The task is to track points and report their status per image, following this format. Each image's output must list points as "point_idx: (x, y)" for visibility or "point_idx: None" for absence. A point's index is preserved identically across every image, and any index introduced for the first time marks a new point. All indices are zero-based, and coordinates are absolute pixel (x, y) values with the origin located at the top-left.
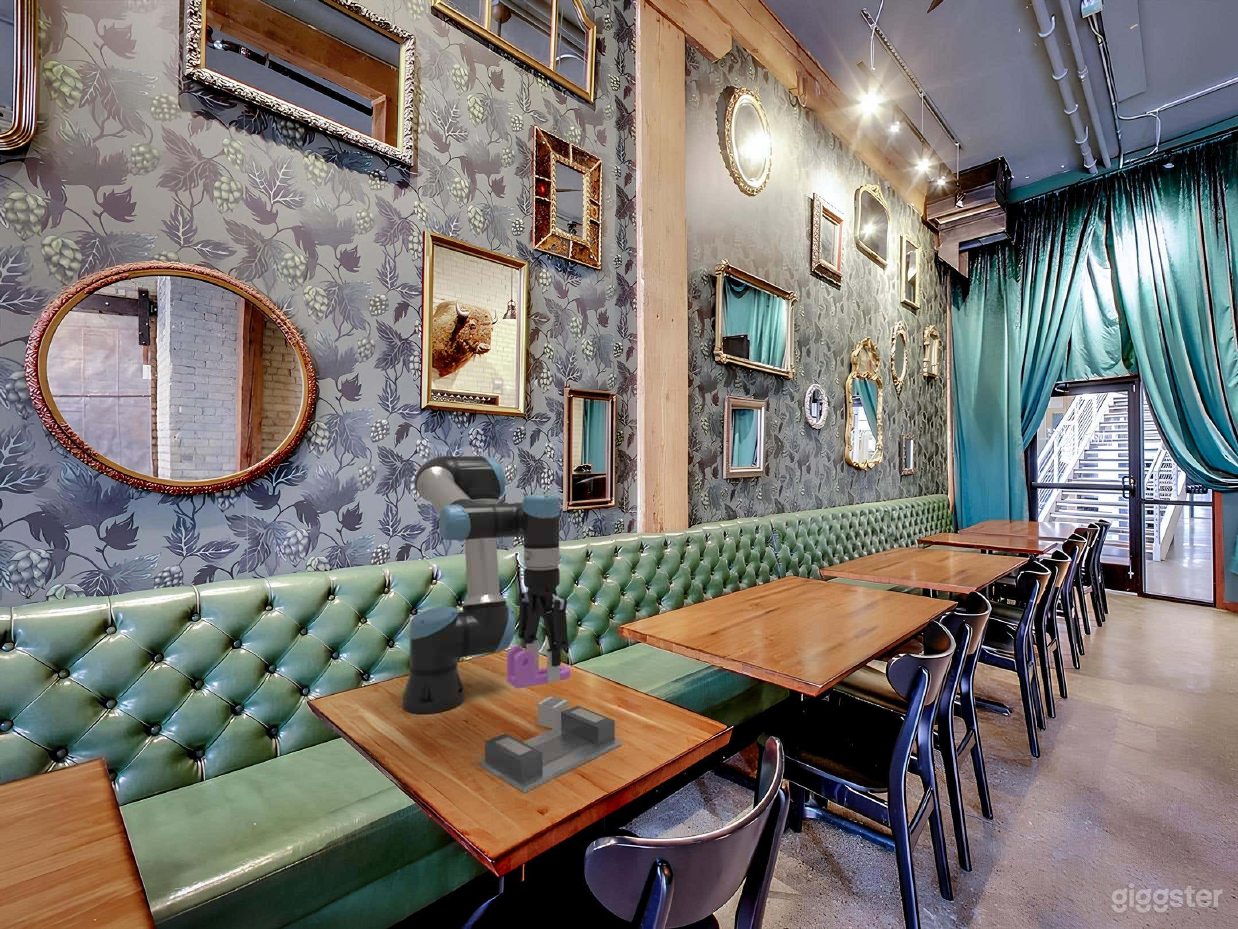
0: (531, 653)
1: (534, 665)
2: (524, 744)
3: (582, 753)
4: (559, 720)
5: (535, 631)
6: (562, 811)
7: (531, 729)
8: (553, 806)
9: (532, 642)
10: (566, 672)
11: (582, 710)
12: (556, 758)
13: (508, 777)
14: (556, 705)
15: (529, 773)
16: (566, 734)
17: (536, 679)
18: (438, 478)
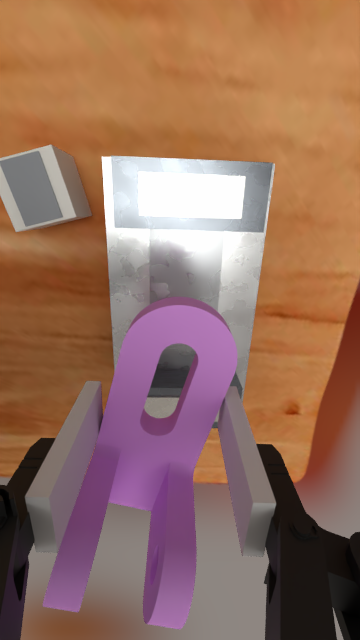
0: (76, 483)
1: (92, 421)
2: None
3: (242, 274)
4: (81, 195)
5: (6, 612)
6: (316, 395)
7: (54, 254)
8: (297, 395)
9: (30, 520)
10: (236, 359)
11: (156, 180)
12: None
13: None
14: (63, 200)
15: None
16: (156, 240)
17: (194, 461)
18: None
